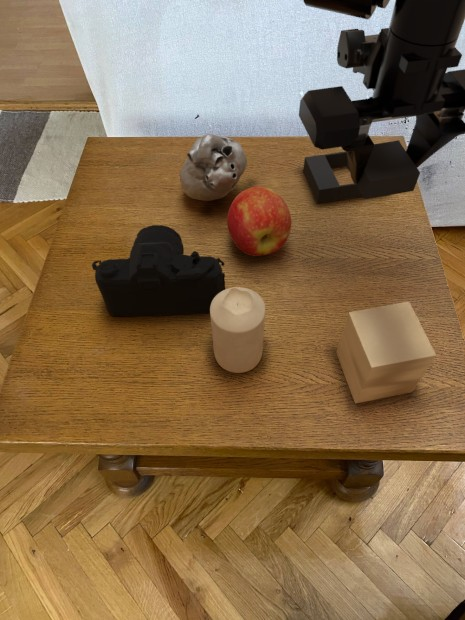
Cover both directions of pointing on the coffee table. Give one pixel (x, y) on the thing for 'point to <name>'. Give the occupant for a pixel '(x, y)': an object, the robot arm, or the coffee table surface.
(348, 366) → the beige wooden block
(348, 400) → the coffee table surface
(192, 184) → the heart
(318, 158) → the black tray
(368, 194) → the black block
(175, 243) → the film camera
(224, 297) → the candle
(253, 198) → the apple
